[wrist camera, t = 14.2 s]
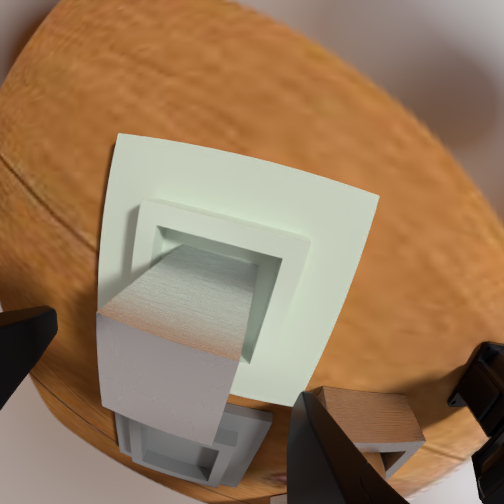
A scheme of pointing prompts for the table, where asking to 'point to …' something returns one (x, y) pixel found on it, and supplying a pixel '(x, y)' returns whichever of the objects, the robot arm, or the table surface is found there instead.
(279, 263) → the pale green socket
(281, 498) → the small box
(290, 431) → the robot arm
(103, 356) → the steel peg
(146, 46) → the table surface
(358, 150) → the table surface
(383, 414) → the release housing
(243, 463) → the charcoal socket
